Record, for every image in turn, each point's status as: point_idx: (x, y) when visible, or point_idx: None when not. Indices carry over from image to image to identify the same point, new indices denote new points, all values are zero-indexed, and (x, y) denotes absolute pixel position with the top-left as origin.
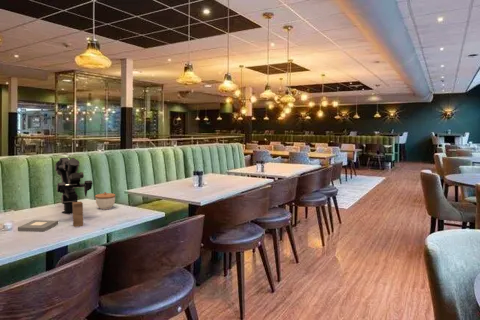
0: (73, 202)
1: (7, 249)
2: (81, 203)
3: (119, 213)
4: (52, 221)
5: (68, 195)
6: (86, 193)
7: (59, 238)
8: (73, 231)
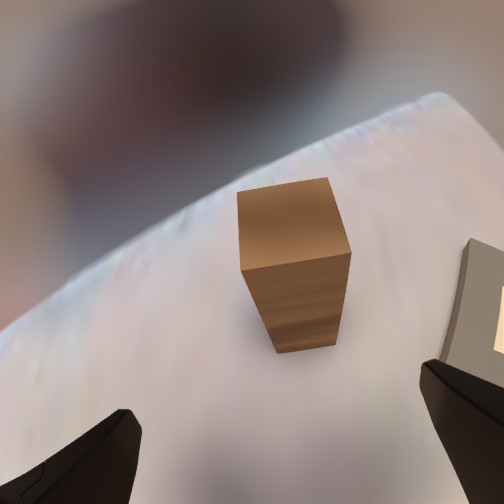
0: (336, 241)
1: (475, 124)
2: (249, 192)
3: None
4: (469, 371)
5: (448, 375)
6: (94, 427)
7: (367, 152)
8: None
